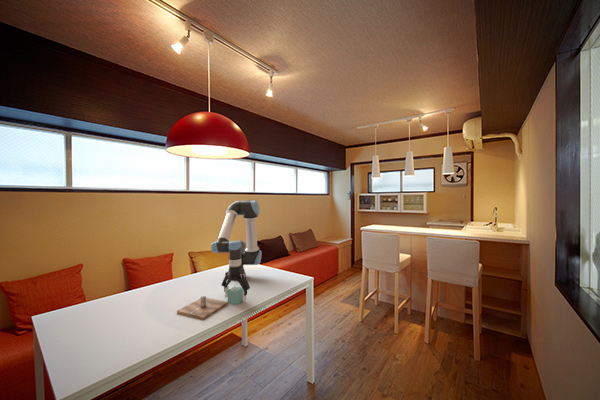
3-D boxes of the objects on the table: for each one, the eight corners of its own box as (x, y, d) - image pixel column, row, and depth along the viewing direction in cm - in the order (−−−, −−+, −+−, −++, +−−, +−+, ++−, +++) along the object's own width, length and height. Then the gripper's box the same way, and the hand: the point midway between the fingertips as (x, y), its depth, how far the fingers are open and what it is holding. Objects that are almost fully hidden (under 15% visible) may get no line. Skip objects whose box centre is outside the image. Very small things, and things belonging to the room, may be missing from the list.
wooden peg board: (203, 299, 155) (203, 288, 155) (228, 304, 148) (227, 293, 148) (176, 313, 137) (176, 301, 137) (203, 319, 129) (203, 307, 129)
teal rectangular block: (234, 298, 156) (234, 285, 156) (243, 300, 153) (243, 286, 153) (227, 302, 150) (227, 289, 149) (236, 304, 147) (236, 290, 147)
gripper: (215, 265, 152) (216, 298, 153) (248, 269, 143) (248, 304, 143) (223, 262, 159) (223, 293, 160) (255, 265, 150) (255, 299, 150)
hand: (235, 298), depth 151 cm, fingers open, 13 cm apart
